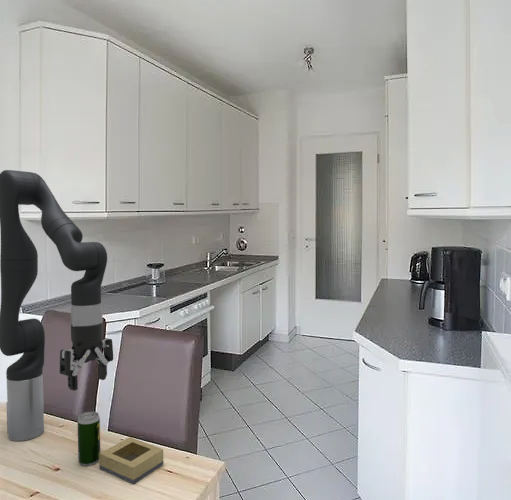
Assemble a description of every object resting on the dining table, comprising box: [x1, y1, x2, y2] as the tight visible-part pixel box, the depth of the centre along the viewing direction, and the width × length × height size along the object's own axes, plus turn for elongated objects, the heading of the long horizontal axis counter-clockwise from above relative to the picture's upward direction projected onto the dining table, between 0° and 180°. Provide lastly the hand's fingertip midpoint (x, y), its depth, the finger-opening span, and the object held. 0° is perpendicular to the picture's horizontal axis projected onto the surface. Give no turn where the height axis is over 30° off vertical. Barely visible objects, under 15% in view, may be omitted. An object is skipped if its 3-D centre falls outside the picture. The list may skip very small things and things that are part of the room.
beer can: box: [77, 411, 101, 467], centre depth 113 cm, size 5×5×12 cm
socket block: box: [98, 436, 164, 485], centre depth 111 cm, size 12×10×4 cm
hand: (88, 384), depth 112 cm, fingers open, 8 cm apart
